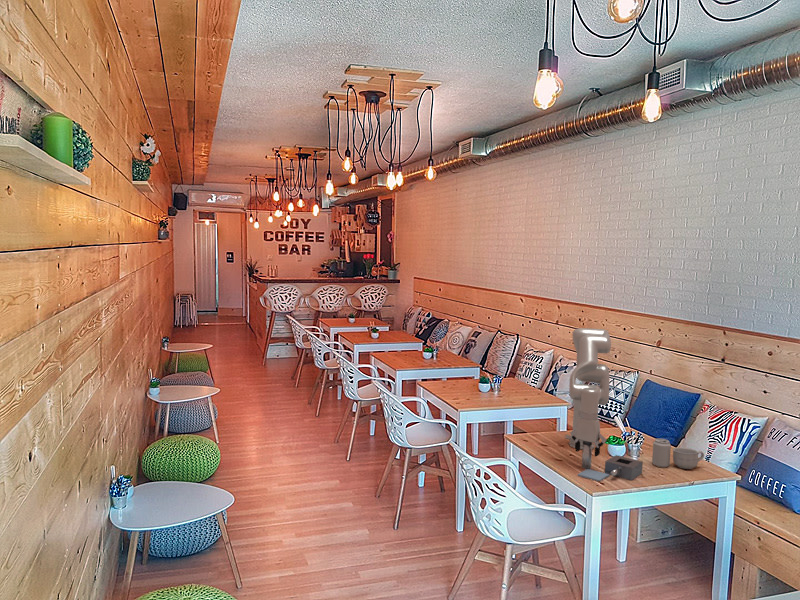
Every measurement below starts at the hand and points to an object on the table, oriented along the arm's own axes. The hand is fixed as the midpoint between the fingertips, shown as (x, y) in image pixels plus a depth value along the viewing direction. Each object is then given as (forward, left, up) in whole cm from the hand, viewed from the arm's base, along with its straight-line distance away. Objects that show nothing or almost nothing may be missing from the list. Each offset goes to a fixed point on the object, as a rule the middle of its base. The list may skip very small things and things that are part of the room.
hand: (587, 453), depth 275 cm
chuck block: (+15, +2, -7) cm, 17 cm away
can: (+23, +29, -7) cm, 38 cm away
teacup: (+33, +36, -7) cm, 49 cm away
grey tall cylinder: (0, 0, -7) cm, 7 cm away
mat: (+7, -8, -7) cm, 13 cm away
